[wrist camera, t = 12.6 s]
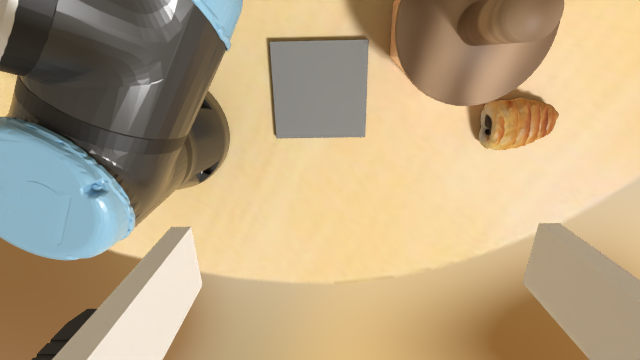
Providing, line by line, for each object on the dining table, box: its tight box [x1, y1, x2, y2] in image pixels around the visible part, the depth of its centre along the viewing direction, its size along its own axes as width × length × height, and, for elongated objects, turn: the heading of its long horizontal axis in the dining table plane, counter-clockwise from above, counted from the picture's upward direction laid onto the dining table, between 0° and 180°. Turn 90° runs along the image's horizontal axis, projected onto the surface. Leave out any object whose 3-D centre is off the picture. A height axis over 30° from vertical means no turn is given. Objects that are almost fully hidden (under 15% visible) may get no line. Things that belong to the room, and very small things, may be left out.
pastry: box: [479, 97, 559, 150], centre depth 40 cm, size 9×7×4 cm
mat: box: [270, 40, 369, 138], centre depth 40 cm, size 12×12×1 cm
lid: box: [395, 0, 564, 106], centre depth 27 cm, size 16×16×10 cm
